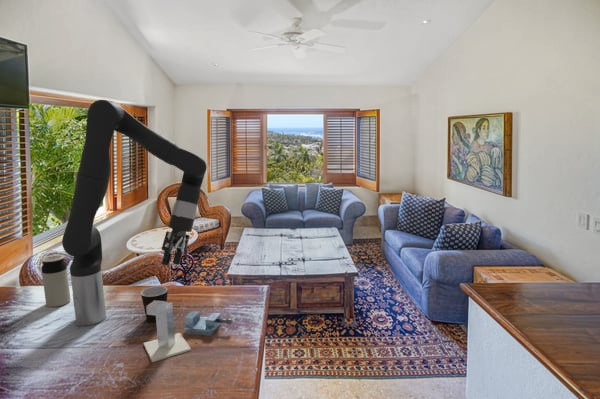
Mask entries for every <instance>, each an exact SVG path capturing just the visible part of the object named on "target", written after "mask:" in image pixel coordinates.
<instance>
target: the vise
mask: <svg viewBox="0 0 600 399" xmlns="http://www.w3.org/2000/svg"><path fill="white" fill-rule="evenodd" d="M221 316H222V315H221V313H220V312H211V313H210V314H209V315H208V316H201V312H200V311H197V310H190V311H189V313H188V314H186V315H185V316H184V318H183V322H184V334H187V335H188V334H191V335H199V336H206V337H207V336H209V337H212V335H213V334H214V333H215V332H216V330H218V328H219V327H220V326H221V324H227V325H232V324H233V320H232V318H228V319H224V318H221Z"/></svg>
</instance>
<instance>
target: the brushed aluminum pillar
mask: <svg viewBox="0 0 600 399" xmlns="http://www.w3.org/2000/svg"><path fill="white" fill-rule="evenodd" d="M173 308H174V306H173V302H168V301H167V302H165V301H157V300H154V301H153V302H151V303H150V304H149V305H147V306H146V310H147V315H155V316H156V323H155V324H156V335H157V339H158V348H164V349H170V348H171V347H172V346H173V345H174V344H175V334H176V333H175V322H174V309H173Z"/></svg>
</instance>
